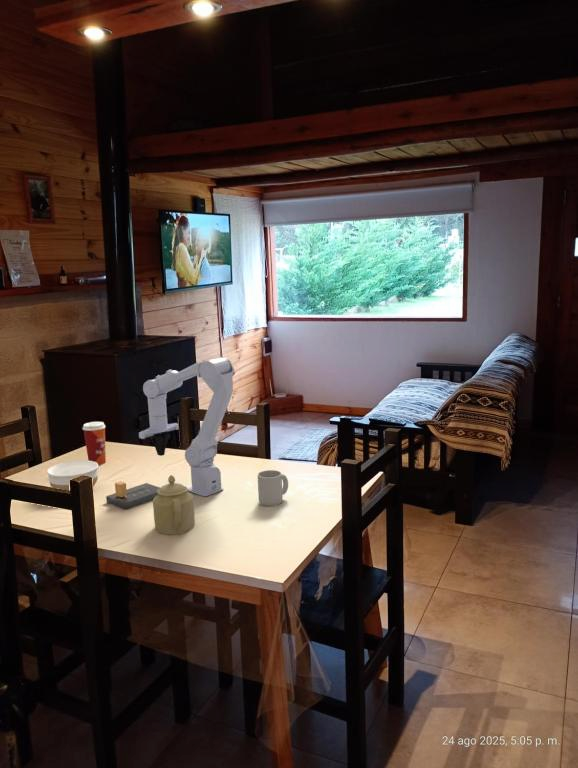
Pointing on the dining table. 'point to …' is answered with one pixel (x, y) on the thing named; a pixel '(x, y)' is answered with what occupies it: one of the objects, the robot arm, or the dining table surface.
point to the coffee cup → (95, 441)
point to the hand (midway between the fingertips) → (160, 454)
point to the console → (134, 496)
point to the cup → (271, 487)
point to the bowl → (71, 472)
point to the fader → (120, 489)
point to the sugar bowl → (173, 509)
